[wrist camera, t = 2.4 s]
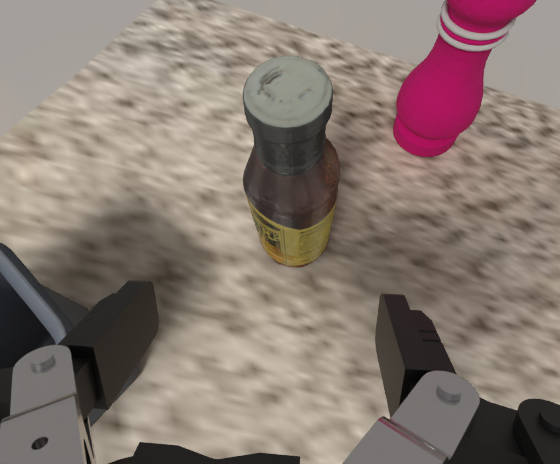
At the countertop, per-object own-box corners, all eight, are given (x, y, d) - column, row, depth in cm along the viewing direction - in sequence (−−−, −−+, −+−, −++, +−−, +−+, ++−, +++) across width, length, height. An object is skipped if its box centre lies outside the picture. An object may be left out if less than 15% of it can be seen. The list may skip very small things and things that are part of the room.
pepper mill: (475, 136, 38) (635, -102, 19) (422, 174, 36) (540, -41, 18) (424, 93, 40) (523, -154, 22) (373, 127, 39) (432, -104, 21)
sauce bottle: (255, 219, 36) (200, 45, 18) (317, 202, 36) (327, 13, 18) (271, 282, 33) (228, 157, 15) (338, 264, 34) (376, 118, 15)
